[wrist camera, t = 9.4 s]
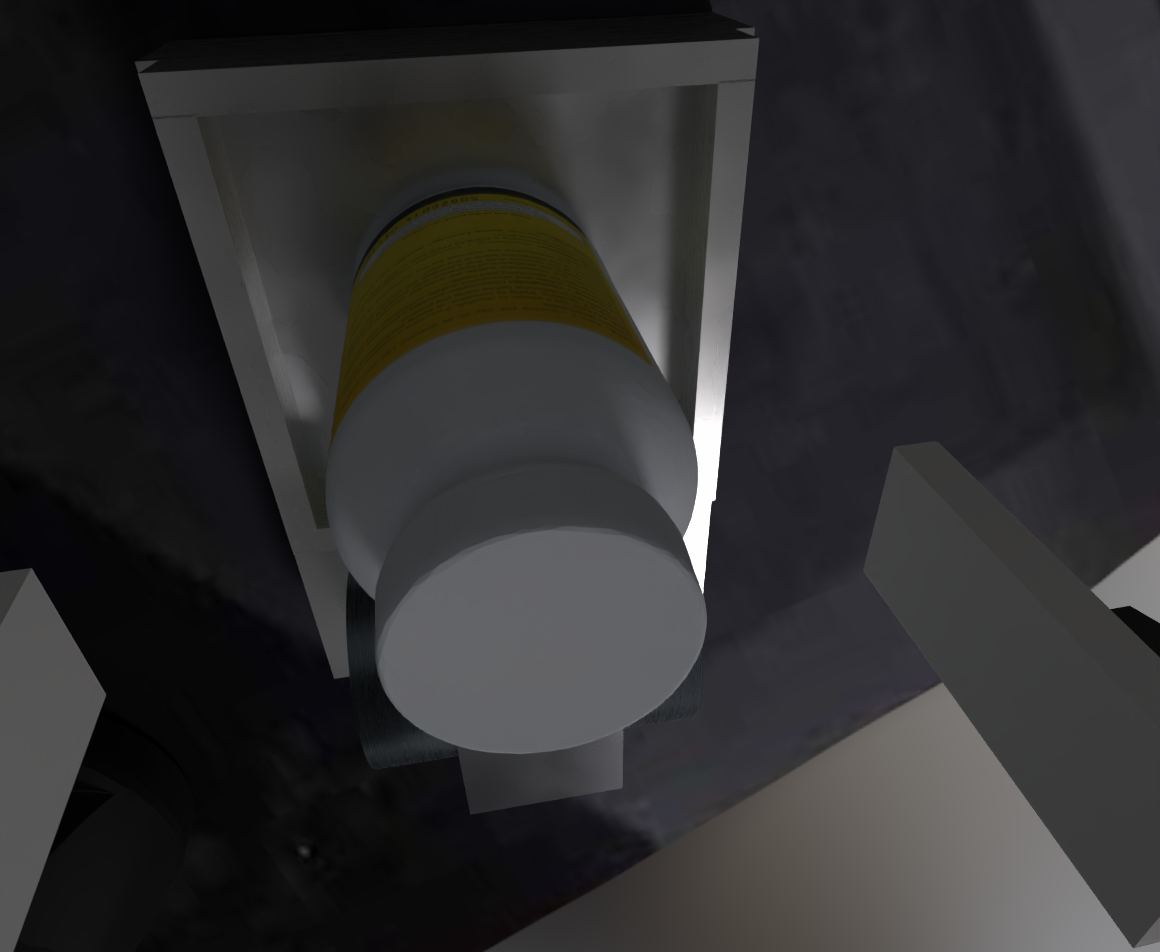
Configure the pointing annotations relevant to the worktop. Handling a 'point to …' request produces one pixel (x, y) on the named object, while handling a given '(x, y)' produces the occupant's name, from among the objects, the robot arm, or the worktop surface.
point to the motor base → (421, 168)
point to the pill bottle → (511, 480)
